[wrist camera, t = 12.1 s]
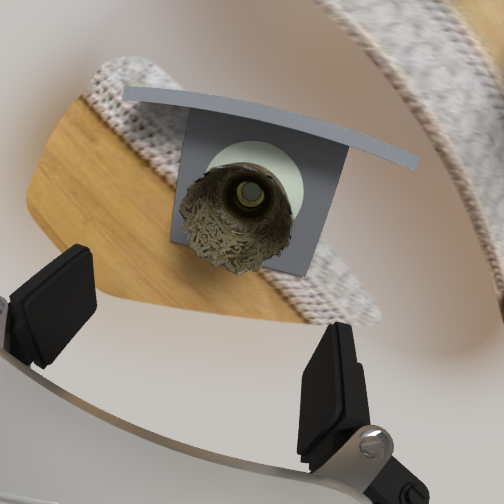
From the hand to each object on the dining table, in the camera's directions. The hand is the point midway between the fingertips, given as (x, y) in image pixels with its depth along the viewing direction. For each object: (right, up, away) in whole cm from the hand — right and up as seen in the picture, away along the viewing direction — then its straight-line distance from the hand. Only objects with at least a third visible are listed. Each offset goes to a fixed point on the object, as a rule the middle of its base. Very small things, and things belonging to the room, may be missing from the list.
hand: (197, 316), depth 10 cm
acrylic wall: (+4, +14, +12) cm, 19 cm away
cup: (+2, +8, +15) cm, 17 cm away
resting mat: (+2, +8, +16) cm, 18 cm away
